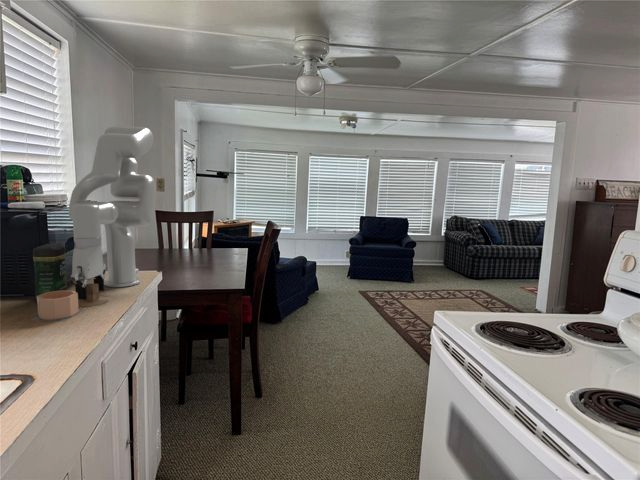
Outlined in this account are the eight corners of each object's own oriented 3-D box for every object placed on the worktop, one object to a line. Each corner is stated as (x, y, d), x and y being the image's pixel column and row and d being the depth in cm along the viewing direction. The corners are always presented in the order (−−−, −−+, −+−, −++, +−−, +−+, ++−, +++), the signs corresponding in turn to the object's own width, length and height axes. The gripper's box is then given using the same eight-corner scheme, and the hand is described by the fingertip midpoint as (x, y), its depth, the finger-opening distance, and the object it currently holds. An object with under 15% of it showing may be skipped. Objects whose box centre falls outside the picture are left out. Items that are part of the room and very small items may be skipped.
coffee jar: (59, 303, 128) (55, 246, 125) (32, 304, 126) (27, 246, 124) (72, 294, 137) (68, 241, 135) (46, 295, 136) (42, 241, 133)
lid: (84, 298, 135) (83, 280, 134) (116, 299, 135) (115, 281, 134) (64, 308, 125) (63, 288, 124) (98, 309, 124) (97, 290, 123)
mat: (53, 309, 122) (53, 308, 122) (86, 310, 122) (86, 309, 122) (29, 321, 112) (29, 319, 112) (64, 322, 112) (64, 321, 112)
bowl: (53, 308, 122) (52, 289, 121) (84, 309, 121) (83, 290, 121) (31, 319, 112) (29, 299, 111) (64, 320, 112) (63, 300, 111)
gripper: (91, 238, 135) (94, 287, 138) (58, 246, 118) (61, 302, 121) (113, 239, 135) (116, 288, 138) (83, 247, 118) (86, 303, 121)
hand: (90, 294), depth 129 cm, fingers open, 9 cm apart
